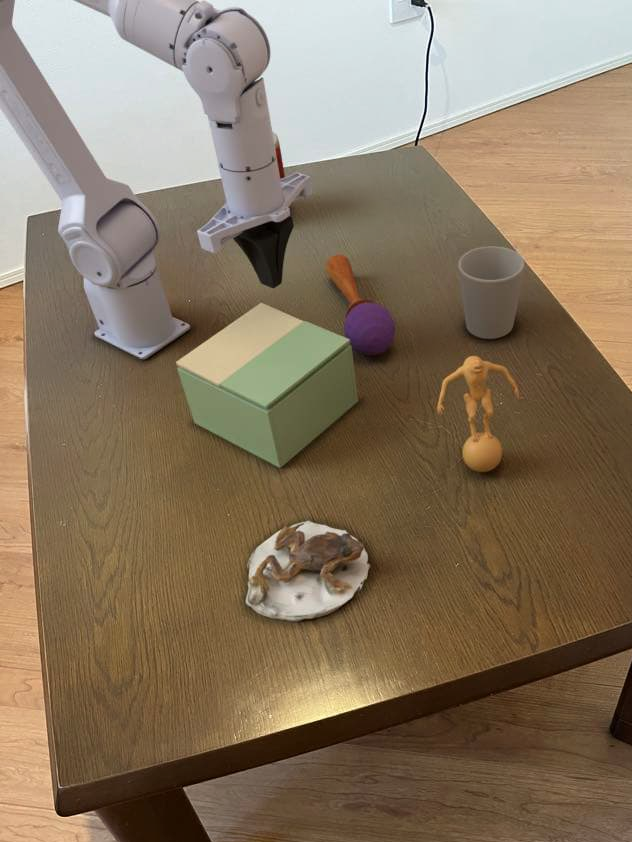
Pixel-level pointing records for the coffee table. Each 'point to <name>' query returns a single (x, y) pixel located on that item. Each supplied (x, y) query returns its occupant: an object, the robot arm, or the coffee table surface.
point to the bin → (279, 394)
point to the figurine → (480, 447)
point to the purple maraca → (361, 312)
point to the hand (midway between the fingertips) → (271, 283)
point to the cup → (490, 289)
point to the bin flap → (238, 343)
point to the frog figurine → (305, 572)
